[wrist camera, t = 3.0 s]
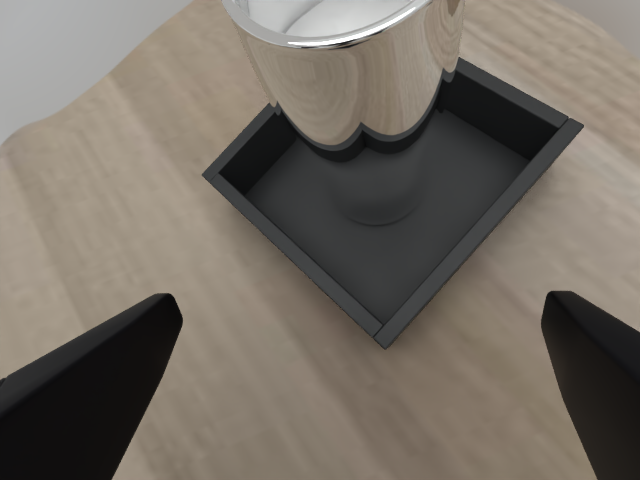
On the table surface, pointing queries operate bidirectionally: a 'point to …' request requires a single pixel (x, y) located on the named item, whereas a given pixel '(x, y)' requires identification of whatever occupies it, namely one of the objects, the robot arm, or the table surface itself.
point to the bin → (417, 226)
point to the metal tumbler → (357, 88)
